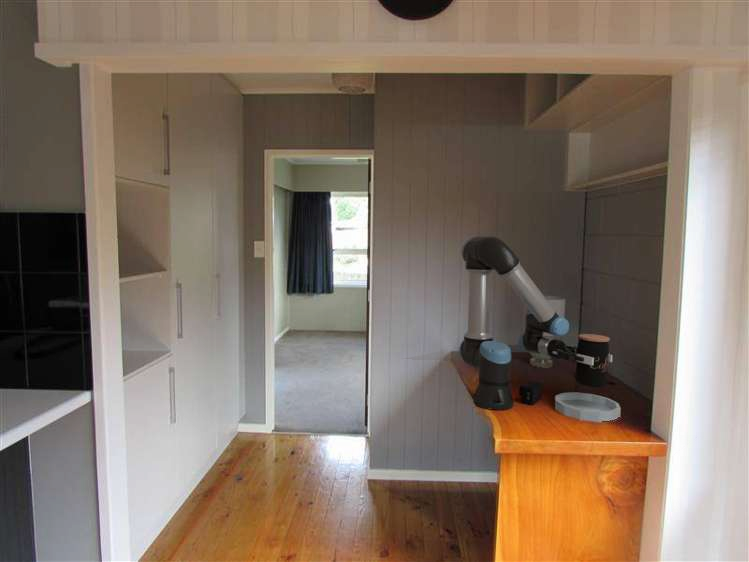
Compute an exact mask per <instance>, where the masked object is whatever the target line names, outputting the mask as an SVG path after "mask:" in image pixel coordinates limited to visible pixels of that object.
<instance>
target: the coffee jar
mask: <svg viewBox="0 0 749 562" xmlns="http://www.w3.org/2000/svg"><path fill="white" fill-rule="evenodd" d="M578 338H579V340H578V342H577V347H578V352H577V354H580V355H584V356H588V357H593V358H594V363H593V365H589V364H585V363H581V362H577V361H576V368H575V369H576V371H575V380H576V381H577V384H579V385H582V386H584V387H589V388H603V387H605V386H606V385H607V382H608V367H609V362H608V357H609V354H610V344H609V342H610V339H611V338H610V337H608V336H605V335H602V334H593V333H592V334H591V333H581V334H578Z"/></svg>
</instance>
